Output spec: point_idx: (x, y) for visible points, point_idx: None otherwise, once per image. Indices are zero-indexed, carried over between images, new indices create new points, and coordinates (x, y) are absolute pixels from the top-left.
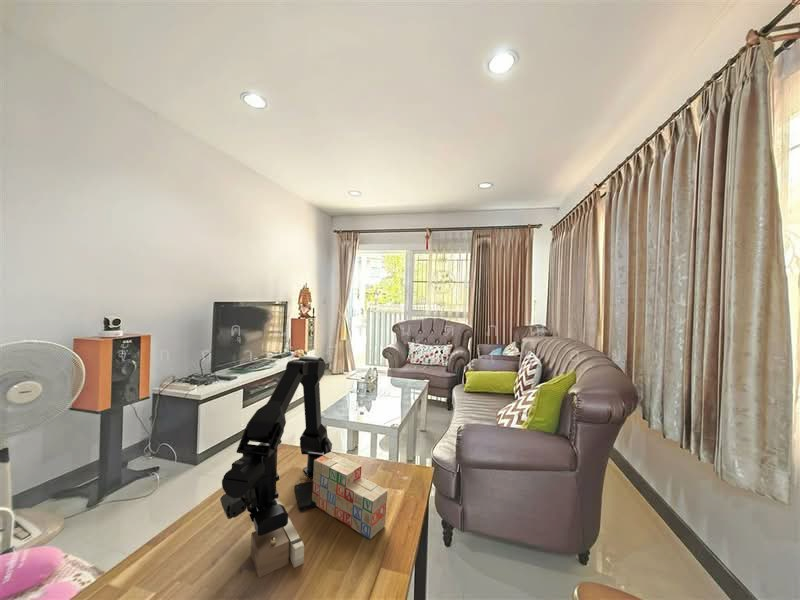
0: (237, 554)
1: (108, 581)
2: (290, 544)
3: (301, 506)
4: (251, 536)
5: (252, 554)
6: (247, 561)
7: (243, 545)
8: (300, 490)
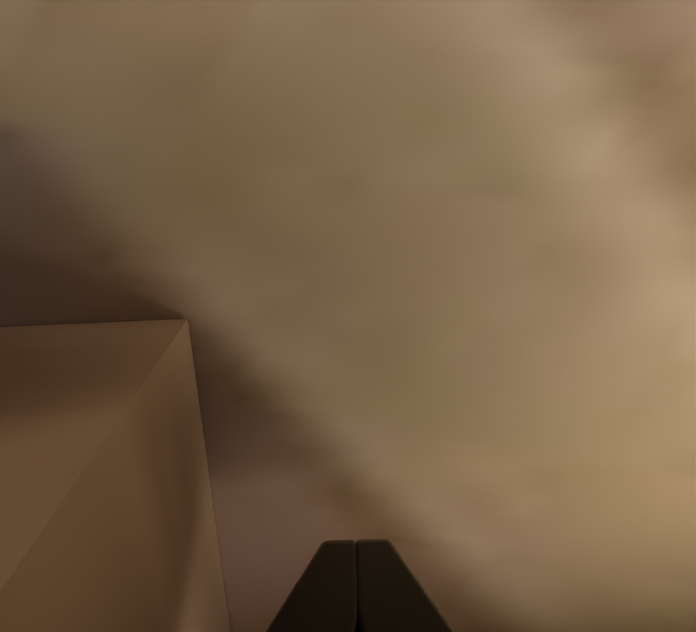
0: (321, 126)
1: None
2: None
3: None
4: (13, 541)
5: (32, 358)
6: (72, 251)
7: (481, 252)
8: None
